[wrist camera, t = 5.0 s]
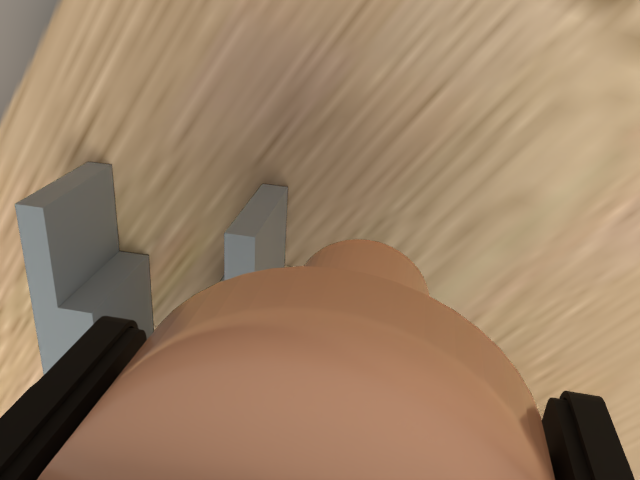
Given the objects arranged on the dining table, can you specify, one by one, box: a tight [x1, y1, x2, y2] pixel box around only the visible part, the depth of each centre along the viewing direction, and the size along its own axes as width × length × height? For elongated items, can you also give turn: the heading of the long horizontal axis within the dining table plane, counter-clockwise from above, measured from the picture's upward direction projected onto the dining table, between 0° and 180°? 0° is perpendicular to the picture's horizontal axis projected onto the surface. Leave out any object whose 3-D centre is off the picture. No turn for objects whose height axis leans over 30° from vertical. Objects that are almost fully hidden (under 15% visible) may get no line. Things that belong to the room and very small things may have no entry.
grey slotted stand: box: [15, 162, 288, 375], centre depth 30 cm, size 16×11×7 cm, turn 176°
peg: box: [37, 239, 555, 480], centre depth 11 cm, size 7×7×8 cm
